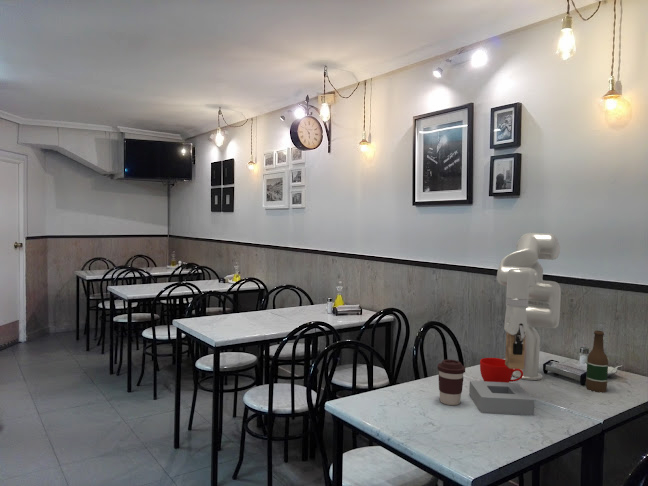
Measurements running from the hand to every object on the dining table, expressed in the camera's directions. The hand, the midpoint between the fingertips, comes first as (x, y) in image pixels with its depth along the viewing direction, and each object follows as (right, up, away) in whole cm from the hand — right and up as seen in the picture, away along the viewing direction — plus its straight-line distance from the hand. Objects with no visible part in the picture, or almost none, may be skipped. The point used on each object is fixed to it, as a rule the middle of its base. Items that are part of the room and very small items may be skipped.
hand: (514, 351), depth 180 cm
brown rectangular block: (0, -5, 0) cm, 5 cm away
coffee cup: (-23, -19, +2) cm, 30 cm away
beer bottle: (+41, -20, +21) cm, 51 cm away
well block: (-5, -20, +1) cm, 20 cm away
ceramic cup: (+2, -19, +21) cm, 28 cm away
